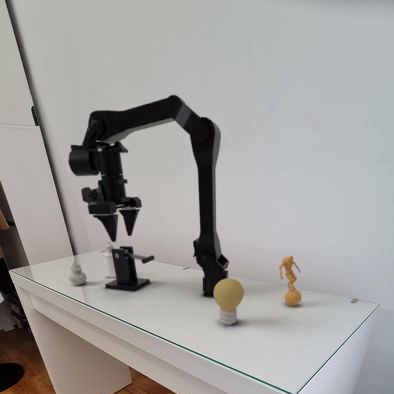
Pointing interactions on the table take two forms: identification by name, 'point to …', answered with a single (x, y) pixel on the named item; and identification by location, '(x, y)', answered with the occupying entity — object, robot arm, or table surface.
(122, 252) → the bracket
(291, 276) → the figurine
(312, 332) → the table surface
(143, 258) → the lever
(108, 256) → the eye dropper bottle
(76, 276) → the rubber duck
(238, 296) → the light bulb
